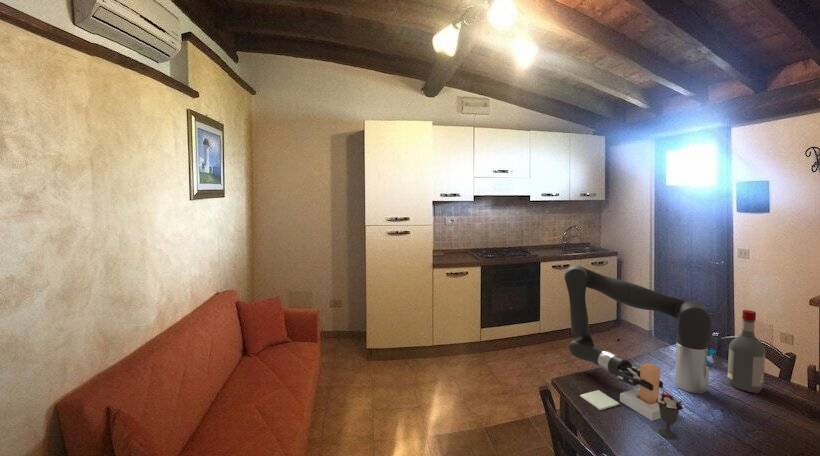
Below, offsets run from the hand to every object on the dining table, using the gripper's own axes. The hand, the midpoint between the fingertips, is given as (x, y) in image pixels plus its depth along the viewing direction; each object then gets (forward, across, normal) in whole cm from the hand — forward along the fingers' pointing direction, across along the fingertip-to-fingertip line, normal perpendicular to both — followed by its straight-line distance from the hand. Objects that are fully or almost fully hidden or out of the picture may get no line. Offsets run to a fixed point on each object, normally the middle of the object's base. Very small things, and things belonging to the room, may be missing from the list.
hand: (657, 386), depth 118 cm
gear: (-17, +51, +9) cm, 55 cm away
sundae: (+9, -8, +9) cm, 15 cm away
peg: (-3, 0, +9) cm, 9 cm away
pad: (-12, -13, +9) cm, 20 cm away
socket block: (-3, 0, +9) cm, 9 cm away
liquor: (+1, +46, +9) cm, 47 cm away
